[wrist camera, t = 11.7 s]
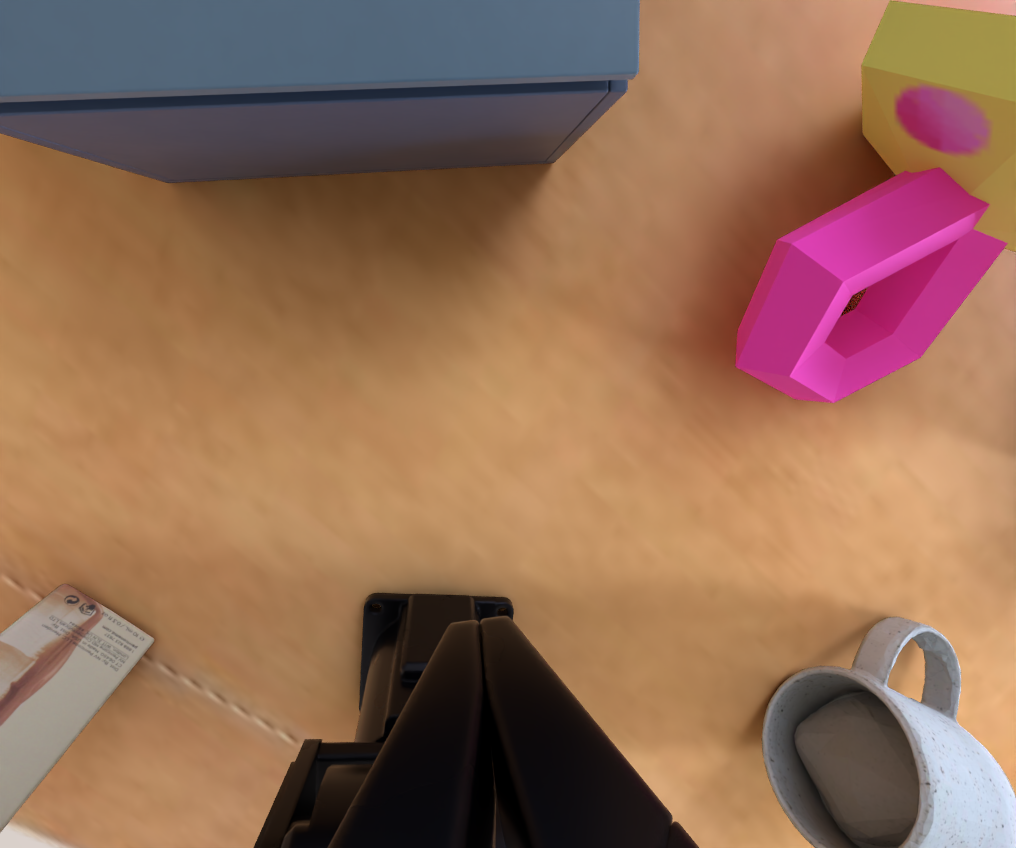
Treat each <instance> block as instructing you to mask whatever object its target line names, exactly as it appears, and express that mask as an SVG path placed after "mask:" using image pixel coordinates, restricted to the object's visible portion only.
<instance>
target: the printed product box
mask: <svg viewBox="0 0 1016 848" xmlns="http://www.w3.org/2000/svg"><path fill="white" fill-rule="evenodd" d="M153 643H154V638H153V637H151V636H150V635H148V634H147V633H145V632H144V631H142V630H140V629H139V628H137V627H136V626H134V625H133V624H131V623H130V622H128V621H127V620H125V619H124V618H122V617H120V616H119V615H117V614H116V613H114V612H113V611H111V610H109V609H108V608H106V607H104V606H103V605H101V604H100V603H98V602H96V601H95V600H93V599H92V598H90V597H88V596H86V595H85V594H83V593H81V592H79V591H78V590H76V589H75V588H73V587H71V586H70V585H67V584H62V585H60V586H59V587H57V588H56V589H55V590H54V591H52V592H51V593H50V594H49V595H47V596H46V597H45V598H44V599H42V600H41V601H40V602H39V603H37V604H36V605H35V606H34V607H32V608H31V609H30V610H29V611H28V612H26V613H25V614H24V615H23V616H21V617H20V618H19V619H18V620H17V621H15V622H14V623H13V624H12V625H11V626H9V627H8V628H7V629H6V630H4V631H3V632H2V633H1V634H0V832H1V831H2V830H3V829H4V827H5V826H6V825H7V824H8V823H9V821H10V820H11V819H12V817H13V816H14V815H15V814H16V812H17V811H18V810H19V809H20V807H21V806H22V805H23V804H24V803H25V801H26V800H27V799H28V798H29V796H30V795H31V794H32V793H33V791H34V790H35V789H36V788H37V786H38V785H39V784H40V783H41V782H42V780H43V779H44V778H45V777H46V775H47V774H48V773H49V772H50V770H51V769H52V768H53V767H54V765H55V764H56V763H57V762H58V760H59V759H60V758H61V757H62V755H63V754H64V753H65V752H66V750H67V749H68V748H69V746H70V745H71V744H72V743H73V741H74V740H75V739H76V738H77V737H78V735H79V734H80V733H81V732H82V730H83V729H84V728H85V727H86V725H87V724H88V723H89V722H90V720H91V719H92V718H93V717H94V715H95V714H96V713H97V712H98V711H99V709H100V708H101V707H102V706H103V704H104V703H105V702H106V701H107V699H108V698H109V697H110V696H111V695H112V693H113V692H114V691H115V690H116V688H117V687H118V686H119V685H120V683H121V682H122V681H123V680H124V678H125V677H126V676H127V674H128V673H129V672H130V671H131V670H132V668H133V667H134V666H135V665H136V663H137V662H138V661H139V660H140V659H141V657H142V656H143V655H144V654H145V652H146V651H147V650H148V649H149V648H150V646H151V645H152V644H153Z"/></svg>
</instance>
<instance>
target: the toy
mask: <svg viewBox="0 0 1016 848" xmlns="http://www.w3.org/2000/svg"><path fill="white" fill-rule="evenodd" d="M861 72H862V122H863V135H864V136H865V138H866V139H867V140H868V141H869V143H870V144H871V145H872V146H873V148H874V149H875V150H876V151H877V153H878V154H879V155H880V156H881V158H882V159H883V160H884V161H885V163H886V164H887V165H888V166H889V168H890V169H891V170H892V171H893V173H894V174H895V175H896V176H894V177H892V178H891V179H889V180H887V181H885V182H883V183H881V184H879V185H878V186H876V187H874V188H872V189H870V190H868V191H866V192H865V193H863V194H861V195H859V196H857V197H855V198H853V199H852V200H850V201H848V202H846V203H844V204H842V205H840V206H839V207H837V208H835V209H833V210H831V211H829V212H827V213H826V214H824V215H822V216H820V217H818V218H816V219H814V220H813V221H811V222H809V223H807V224H805V225H803V226H801V227H800V228H798V229H796V230H794V231H792V232H790V233H788V234H787V235H785V236H783V237H781V238H779V239H777V241H776V243H775V245H774V248H773V250H772V252H771V255H770V257H769V259H768V261H767V264H766V266H765V268H764V271H763V273H762V275H761V278H760V280H759V282H758V285H757V287H756V289H755V291H754V294H753V296H752V298H751V301H750V303H749V305H748V308H747V310H746V312H745V314H744V317H743V319H742V321H741V324H740V326H739V328H738V332H737V348H736V364H735V367H737V368H739V369H740V370H742V371H744V372H746V373H748V374H750V375H751V376H753V377H755V378H757V379H759V380H761V381H763V382H764V383H766V384H768V385H770V386H772V387H774V388H775V389H777V390H779V391H781V392H783V393H785V394H786V395H788V396H790V397H792V398H794V399H796V400H807V401H818V402H830V403H834V402H836V401H838V400H840V399H842V398H844V397H846V396H848V395H850V394H852V393H854V392H855V391H857V390H859V389H861V388H863V387H865V386H867V385H869V384H871V383H873V382H875V381H877V380H878V379H880V378H882V377H884V376H886V375H888V374H890V373H892V372H894V371H896V370H898V369H900V368H901V367H903V366H905V365H907V364H909V363H911V362H913V361H915V360H917V359H919V358H921V356H922V355H923V354H924V352H925V351H926V350H927V348H928V347H929V346H930V344H931V343H932V342H933V341H934V339H935V338H936V337H937V335H938V334H939V333H940V331H941V330H942V329H943V327H944V326H945V325H946V324H947V322H948V321H949V320H950V318H951V317H952V316H953V314H954V313H955V312H956V310H957V309H958V308H959V307H960V305H961V304H962V303H963V301H964V300H965V299H966V297H967V296H968V295H969V293H970V292H971V291H972V290H973V288H974V287H975V286H976V284H977V283H978V282H979V280H980V279H981V278H982V276H983V275H984V274H985V273H986V271H987V270H988V269H989V267H990V266H991V265H992V263H993V262H994V261H995V259H996V258H997V257H998V256H999V254H1000V253H1001V252H1002V250H1003V249H1004V248H1005V249H1008V250H1011V251H1014V252H1016V16H1012V15H1003V14H995V13H987V12H979V11H971V10H963V9H955V8H947V7H938V6H930V5H922V4H914V3H906V2H898V1H889V3H888V6H887V8H886V10H885V12H884V15H883V17H882V19H881V22H880V24H879V26H878V28H877V31H876V33H875V35H874V37H873V40H872V42H871V44H870V47H869V49H868V51H867V53H866V56H865V58H864V60H863V62H862V65H861ZM867 287H868V288H867ZM865 288H867V290H866V292H865V293H864V295H863V297H862V298H861V300H860V302H859V303H858V305H857V307H856V308H855V309H854V310H852V311H850V312H849V313H847V314H845V315H843V316H841V317H840V315H841V314H842V312H843V310H844V309H845V307H846V305H847V304H848V302H849V300H850V299H851V297H852V295H854V294H856V293H858V292H860V291H861V290H863V289H865Z"/></svg>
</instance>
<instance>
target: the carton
mask: <svg viewBox="0 0 1016 848" xmlns="http://www.w3.org/2000/svg"><path fill="white" fill-rule="evenodd" d="M627 89H628V80H603V81H576V82H548V83H521V84H494V85H467V86H439V87H412V88H385V89H358V90H330V91H303V92H276V93H249V94H221V95H194V96H167V97H140V98H112V99H85V100H58V101H31V102H3V103H0V133H1V134H5V135H8V136H11V137H15V138H18V139H21V140H25V141H28V142H32V143H35V144H38V145H42V146H45V147H48V148H52V149H55V150H58V151H62V152H65V153H69V154H72V155H75V156H79V157H82V158H85V159H89V160H92V161H95V162H99V163H102V164H106V165H109V166H112V167H116V168H119V169H122V170H126V171H129V172H132V173H136V174H139V175H143V176H146V177H149V178H153V179H156V180H159V181H163V182H166V183H177V182H197V181H216V180H235V179H255V178H274V177H294V176H313V175H332V174H352V173H371V172H390V171H410V170H429V169H448V168H468V167H487V166H507V165H526V164H545V163H554V162H555V161H556V160H557V159H558V158H559V157H560V156H561V155H562V154H563V153H565V152H566V151H567V150H568V149H569V148H570V147H571V146H572V145H573V144H574V143H575V142H576V141H577V140H578V139H579V138H580V137H581V136H582V135H583V134H584V133H585V132H586V131H587V130H588V129H589V128H590V127H591V126H592V125H593V124H594V123H595V122H596V121H597V120H598V119H599V118H600V117H601V116H602V115H603V114H604V113H605V112H606V111H607V110H608V109H609V108H610V107H611V106H612V105H613V104H614V103H615V102H616V101H617V100H618V99H619V98H621V97H622V96H623V95H624V94H625V93H626V92H627Z"/></svg>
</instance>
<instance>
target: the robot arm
mask: <svg viewBox="0 0 1016 848" xmlns="http://www.w3.org/2000/svg"><path fill="white" fill-rule="evenodd" d="M373 604H379V605H380V606H381V607H378V608H376V607H373V606H372V605H373ZM500 608H506V610H504V611H498V609H500ZM513 613H514V612H513V605H512V602H511V601H510V600H509V599H508V598H505V597H483V596H466V595H436V594H391V593H374V594H371V595H369V596H368V598H367V599H366V602H365V606H364V617H363V638H362V660H361V681H360V703H359V710H360V716H359V721H358V726H357V731H356V736H355V741H354V742H334V743H322V739H305V740H304V743H303V745H302V747H301V750H300V752H299V754H298V756H297V759H296V761H295V762H292V763H291V764H290V767H289V769H288V771H287V773H286V776H285V778H284V780H283V783H282V785H281V787H280V789H279V792H278V794H277V796H276V798H275V801H274V803H273V805H272V807H271V810H270V812H269V814H268V816H267V819H266V821H265V823H264V825H263V828H262V830H261V832H260V834H259V837H258V839H257V841H256V843H255V846H254V848H699V847H698V846H697V844H696V843H695V842H694V841H693V840H692V838H691V837H690V836H689V835H688V833H687V832H686V831H685V830H684V829H683V827H682V826H681V825H680V824H679V823H678V822H673V823H672V815H671V813H670V812H669V811H668V810H667V808H666V807H665V806H664V805H663V804H662V802H661V801H660V800H659V799H658V797H657V796H656V795H655V794H654V793H653V791H652V790H651V789H650V788H649V786H648V785H647V784H646V783H645V782H644V780H643V779H642V778H641V777H640V776H639V774H638V773H637V772H636V771H635V769H634V768H633V767H632V766H631V765H630V763H629V762H628V761H627V760H626V758H625V757H624V756H623V755H622V754H621V752H620V751H619V750H618V749H617V748H616V746H615V745H614V744H613V743H612V741H611V740H610V739H609V738H608V737H607V735H606V734H605V733H604V732H603V730H602V729H601V728H600V727H599V726H598V724H597V723H596V722H595V721H594V720H593V718H592V717H591V716H590V715H589V713H588V712H587V711H586V710H585V709H584V707H583V706H582V705H581V704H580V702H579V701H578V700H577V699H576V698H575V696H574V695H573V694H572V693H571V692H570V690H569V689H568V688H567V687H566V685H565V684H564V683H563V682H562V681H561V679H560V678H559V677H558V676H557V674H556V673H555V672H554V671H553V670H552V668H551V667H550V666H549V665H548V664H547V662H546V661H545V660H544V659H543V657H542V656H541V655H540V654H539V653H538V651H537V650H536V649H535V648H534V646H533V645H532V644H531V643H530V642H529V640H528V639H527V638H526V637H525V636H524V634H523V633H522V632H521V631H520V629H519V628H518V627H517V626H516V625H515V623H514V622H513V621H512V620H513Z"/></svg>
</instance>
